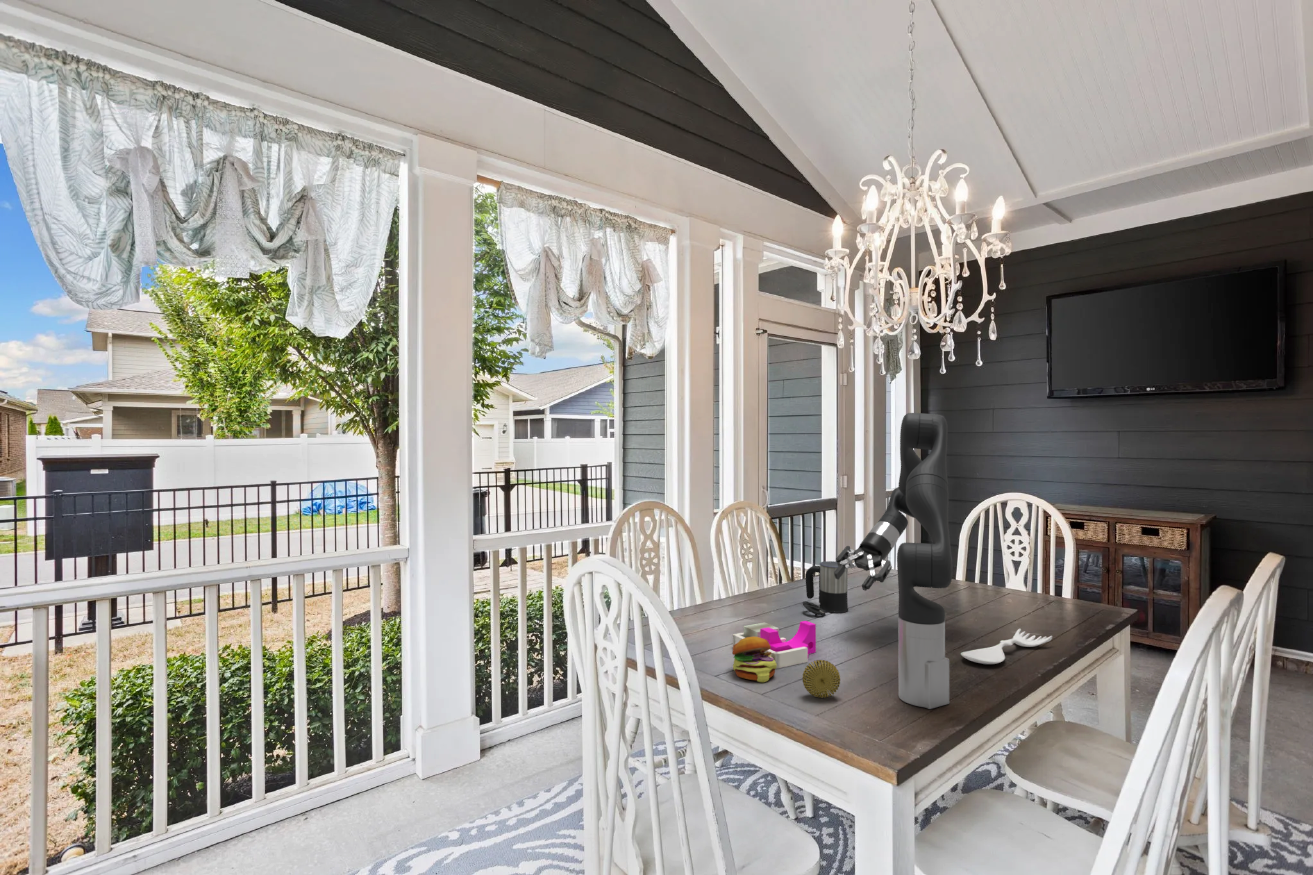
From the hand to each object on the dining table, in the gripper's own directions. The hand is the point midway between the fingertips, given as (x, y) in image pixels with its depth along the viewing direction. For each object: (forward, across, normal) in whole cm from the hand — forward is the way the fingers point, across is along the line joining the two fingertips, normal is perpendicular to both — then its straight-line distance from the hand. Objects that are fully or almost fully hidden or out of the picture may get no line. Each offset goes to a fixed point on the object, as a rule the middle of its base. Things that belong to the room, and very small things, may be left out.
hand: (849, 582), depth 177 cm
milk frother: (-4, -19, +30) cm, 35 cm away
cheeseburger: (+40, 0, -11) cm, 41 cm away
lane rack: (+29, -6, -1) cm, 30 cm away
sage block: (+29, -10, 0) cm, 30 cm away
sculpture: (+37, +19, -13) cm, 43 cm away
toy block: (+27, -1, 0) cm, 27 cm away
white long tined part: (-10, +34, +22) cm, 42 cm away
